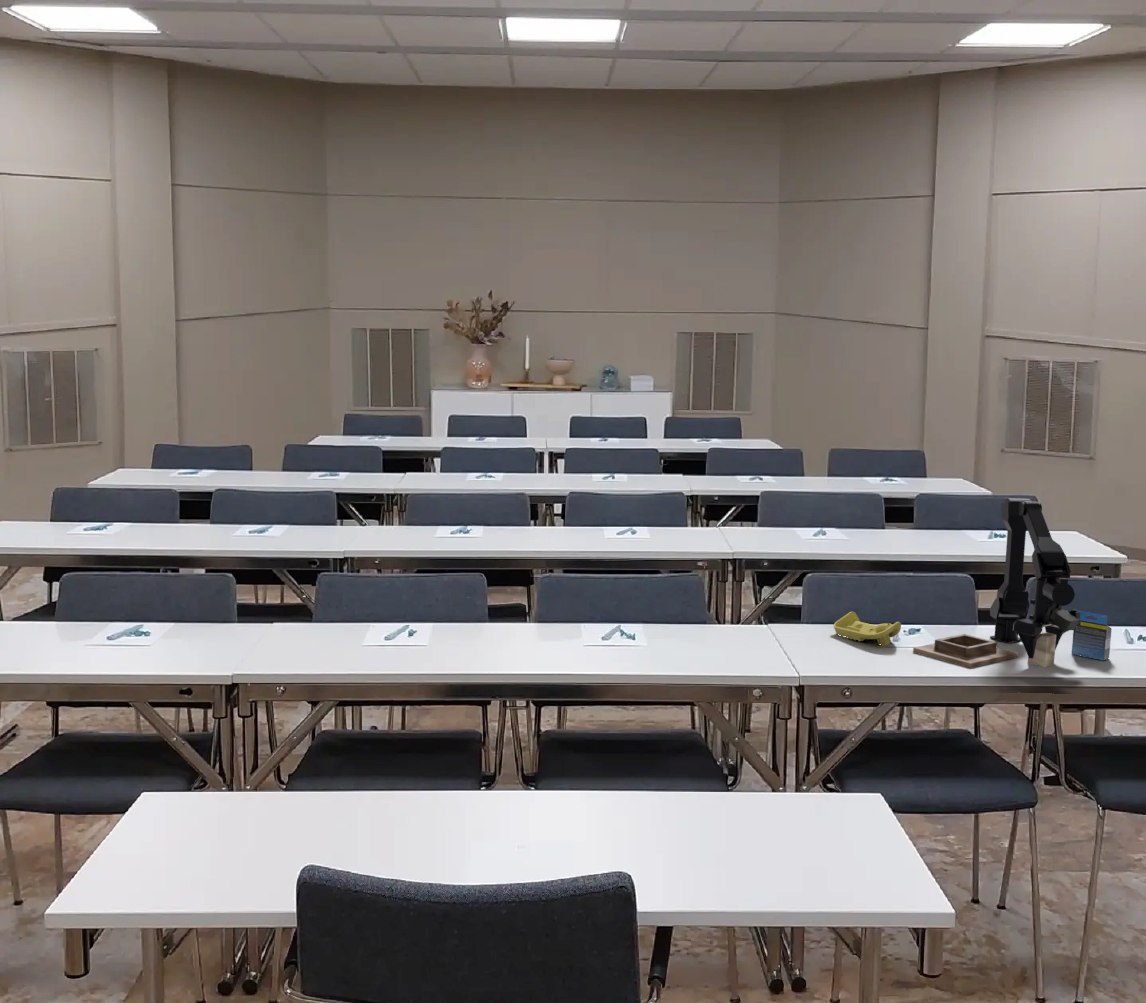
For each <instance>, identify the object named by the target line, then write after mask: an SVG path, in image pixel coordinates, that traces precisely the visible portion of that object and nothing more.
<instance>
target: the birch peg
mask: <svg viewBox="0 0 1146 1003" xmlns="http://www.w3.org/2000/svg"><path fill="white" fill-rule="evenodd" d="M1040 634H1041V635H1042V636H1041V637H1040V638H1038V639H1037V642H1036V647H1035V653H1034V657H1033V659H1031V658H1029V657H1028V656H1027V663H1028V664H1031V665H1036V666H1040V667H1043V668H1046V667H1047V668H1048V667H1050V666H1055V657H1056V656H1055V655H1056V650H1055V645H1056V635H1055V634H1051V633H1047V632H1046V631H1043V630H1042V632H1041V633H1040Z"/></svg>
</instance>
